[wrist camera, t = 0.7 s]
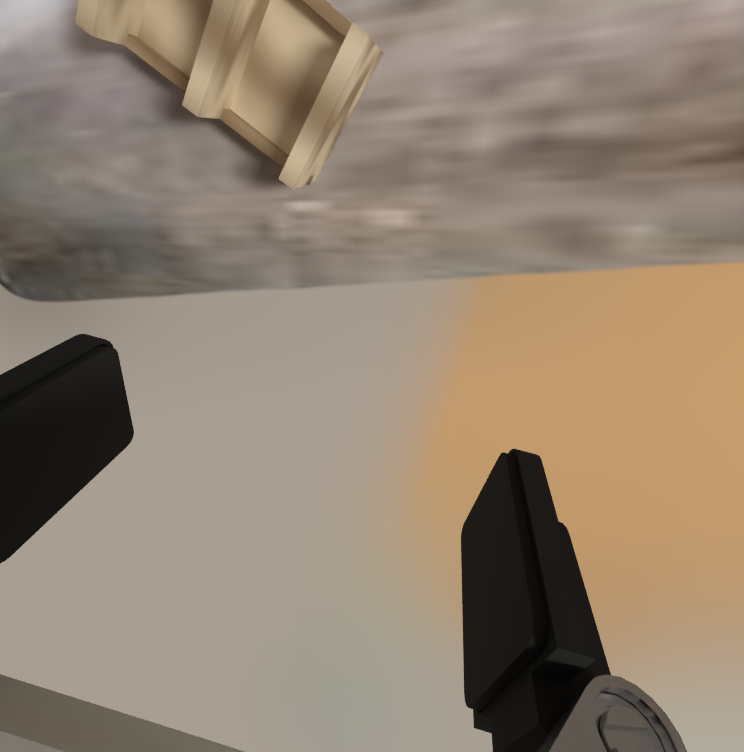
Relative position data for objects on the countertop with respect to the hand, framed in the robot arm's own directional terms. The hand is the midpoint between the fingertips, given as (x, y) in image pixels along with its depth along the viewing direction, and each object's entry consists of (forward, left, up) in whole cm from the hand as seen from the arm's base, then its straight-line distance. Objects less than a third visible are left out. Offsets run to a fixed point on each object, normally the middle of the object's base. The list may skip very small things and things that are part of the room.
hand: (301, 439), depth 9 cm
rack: (-3, -17, -28) cm, 32 cm away
